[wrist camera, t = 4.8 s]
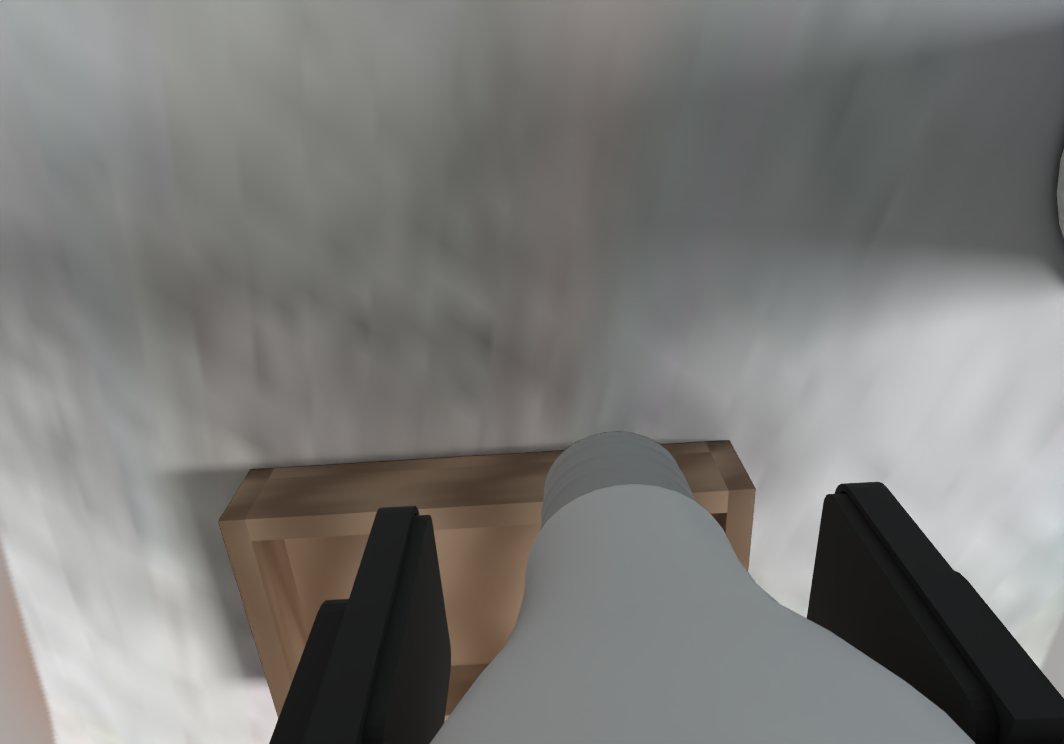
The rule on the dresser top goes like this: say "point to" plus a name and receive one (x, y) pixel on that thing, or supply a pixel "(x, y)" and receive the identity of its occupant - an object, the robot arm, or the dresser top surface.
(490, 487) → the walnut tray
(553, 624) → the lightbulb
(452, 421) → the dresser top surface
